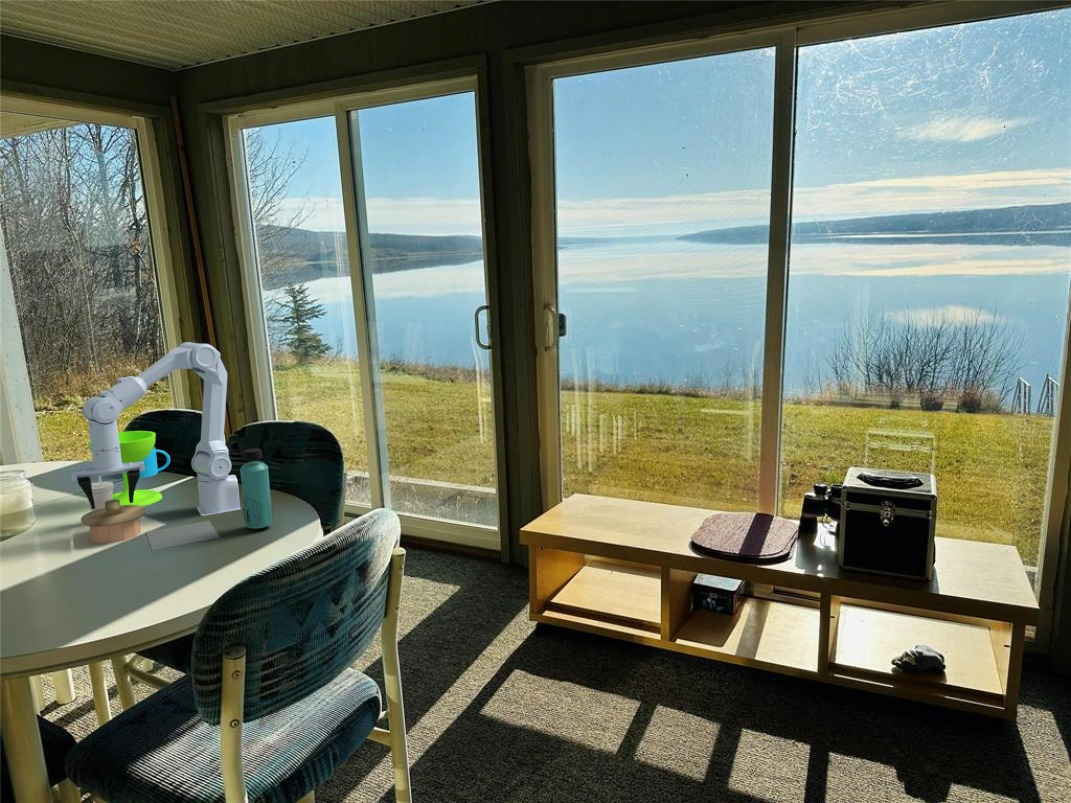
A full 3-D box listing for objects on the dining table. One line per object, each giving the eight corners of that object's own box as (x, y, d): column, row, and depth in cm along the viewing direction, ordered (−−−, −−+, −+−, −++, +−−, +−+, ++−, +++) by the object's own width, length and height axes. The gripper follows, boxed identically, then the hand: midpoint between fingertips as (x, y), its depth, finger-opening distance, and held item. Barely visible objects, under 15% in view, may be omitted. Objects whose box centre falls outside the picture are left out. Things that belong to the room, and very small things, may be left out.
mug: (128, 479, 216) (125, 453, 215) (128, 473, 223) (125, 448, 222) (172, 473, 222) (170, 448, 221) (170, 468, 229) (168, 443, 228)
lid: (153, 506, 174) (151, 491, 173) (133, 524, 161) (132, 508, 161) (95, 510, 171) (93, 495, 171) (71, 528, 159) (68, 512, 158)
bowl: (138, 526, 174) (136, 507, 173) (142, 538, 166) (140, 518, 165) (90, 535, 169) (88, 515, 168) (92, 548, 161) (89, 527, 160)
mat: (209, 522, 177) (209, 520, 177) (220, 539, 165) (219, 537, 165) (145, 534, 169) (145, 532, 169) (152, 552, 158) (152, 550, 157)
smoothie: (104, 527, 174) (97, 472, 172) (81, 525, 175) (75, 471, 173) (124, 518, 180) (117, 465, 178) (102, 517, 181) (95, 464, 179)
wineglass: (175, 493, 201) (168, 431, 198) (134, 511, 186) (126, 445, 182) (125, 491, 204) (118, 430, 201) (81, 509, 188) (72, 443, 185)
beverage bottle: (279, 526, 173) (273, 447, 169) (261, 536, 167) (254, 453, 163) (257, 524, 175) (251, 445, 172) (238, 533, 169) (231, 451, 165)
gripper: (139, 441, 171) (145, 495, 173) (68, 449, 163) (75, 506, 165) (142, 446, 165) (148, 502, 167) (68, 455, 157) (76, 514, 160)
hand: (112, 504), depth 166 cm, fingers open, 7 cm apart
